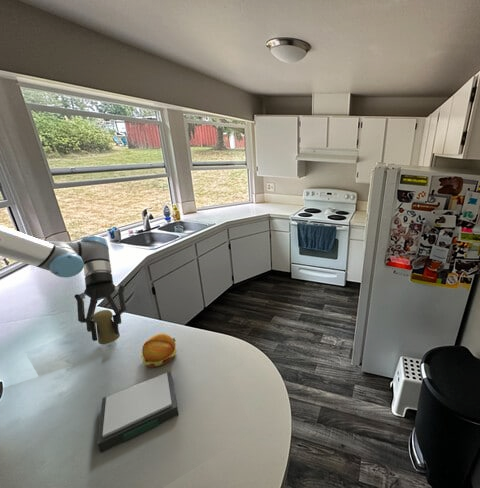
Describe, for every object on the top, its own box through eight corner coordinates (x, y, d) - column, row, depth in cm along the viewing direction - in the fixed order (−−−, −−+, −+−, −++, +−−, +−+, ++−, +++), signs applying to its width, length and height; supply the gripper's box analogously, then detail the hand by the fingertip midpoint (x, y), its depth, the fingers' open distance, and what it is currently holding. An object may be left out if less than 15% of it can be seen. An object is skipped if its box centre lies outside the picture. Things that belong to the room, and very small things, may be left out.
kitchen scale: (100, 455, 58) (95, 444, 56) (105, 405, 69) (101, 395, 67) (179, 416, 67) (176, 406, 65) (172, 378, 78) (170, 368, 76)
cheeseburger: (172, 341, 92) (170, 322, 87) (182, 363, 86) (180, 344, 81) (139, 355, 85) (135, 335, 80) (147, 379, 79) (143, 360, 74)
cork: (123, 336, 90) (115, 311, 87) (102, 346, 86) (93, 319, 82) (115, 330, 93) (108, 305, 90) (95, 339, 89) (86, 313, 85)
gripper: (130, 273, 100) (140, 329, 94) (68, 284, 90) (73, 348, 83) (127, 266, 95) (137, 325, 88) (60, 277, 84) (65, 345, 78)
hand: (106, 336), depth 86 cm, fingers closed on cork, 5 cm apart
